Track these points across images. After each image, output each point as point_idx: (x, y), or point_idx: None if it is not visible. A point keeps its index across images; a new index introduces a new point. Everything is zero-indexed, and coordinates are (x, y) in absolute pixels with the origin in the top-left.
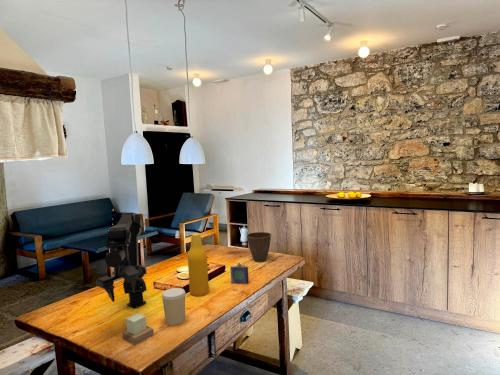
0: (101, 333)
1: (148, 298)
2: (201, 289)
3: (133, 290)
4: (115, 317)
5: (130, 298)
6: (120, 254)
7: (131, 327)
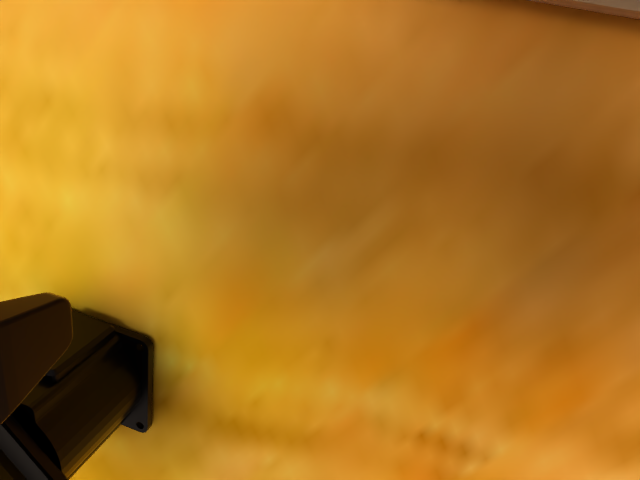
0: (615, 331)
1: None
2: None
3: (20, 360)
4: (321, 392)
5: (98, 430)
6: None
7: None
